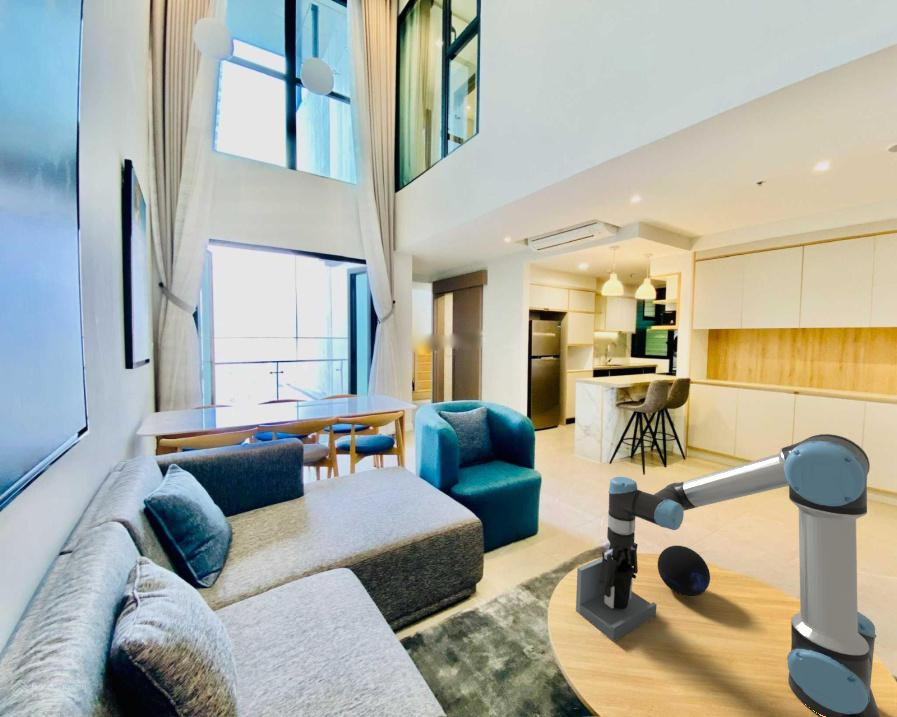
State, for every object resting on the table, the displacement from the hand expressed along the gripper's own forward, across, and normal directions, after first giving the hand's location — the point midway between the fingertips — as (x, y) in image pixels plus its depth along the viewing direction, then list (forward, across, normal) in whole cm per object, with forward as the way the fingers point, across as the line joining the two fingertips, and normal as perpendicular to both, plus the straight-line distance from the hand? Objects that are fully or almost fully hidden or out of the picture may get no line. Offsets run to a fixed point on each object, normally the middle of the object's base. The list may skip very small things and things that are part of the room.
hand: (617, 600), depth 116 cm
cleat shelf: (+5, 0, -1) cm, 5 cm away
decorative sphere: (+5, -29, +3) cm, 30 cm away
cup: (+1, 0, 0) cm, 1 cm away
